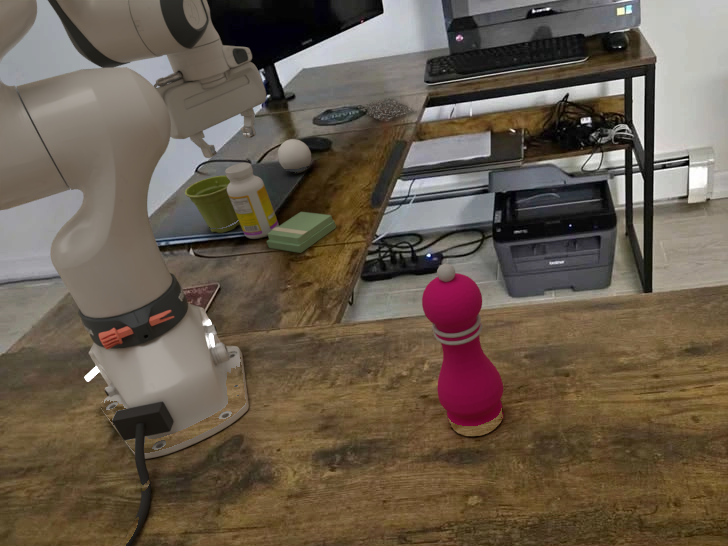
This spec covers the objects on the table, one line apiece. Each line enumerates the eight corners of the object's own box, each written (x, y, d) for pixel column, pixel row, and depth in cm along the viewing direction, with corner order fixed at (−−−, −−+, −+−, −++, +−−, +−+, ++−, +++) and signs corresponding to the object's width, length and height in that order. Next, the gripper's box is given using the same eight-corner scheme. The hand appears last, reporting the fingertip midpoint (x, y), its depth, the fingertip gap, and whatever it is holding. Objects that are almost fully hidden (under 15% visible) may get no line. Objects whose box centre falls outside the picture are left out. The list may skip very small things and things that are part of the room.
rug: (388, 99, 190) (388, 95, 190) (416, 112, 176) (415, 109, 175) (356, 108, 187) (355, 105, 187) (382, 123, 173) (381, 119, 172)
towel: (301, 253, 118) (296, 239, 117) (268, 248, 122) (263, 234, 121) (336, 227, 125) (332, 214, 123) (305, 223, 129) (300, 210, 127)
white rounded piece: (321, 169, 152) (312, 137, 147) (292, 181, 149) (281, 148, 144) (301, 161, 159) (291, 130, 154) (273, 172, 155) (262, 140, 151)
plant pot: (252, 228, 131) (236, 185, 125) (203, 242, 129) (185, 200, 123) (247, 211, 138) (232, 171, 133) (201, 225, 136) (184, 184, 131)
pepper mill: (437, 411, 78) (399, 260, 67) (494, 390, 80) (466, 239, 68) (457, 450, 73) (419, 292, 61) (518, 426, 74) (493, 269, 62)
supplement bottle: (273, 220, 132) (250, 157, 124) (284, 231, 127) (261, 165, 120) (240, 233, 130) (215, 169, 122) (250, 243, 125) (224, 178, 117)
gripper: (161, 82, 102) (197, 170, 110) (256, 46, 115) (283, 126, 123) (135, 82, 105) (173, 168, 113) (231, 47, 118) (259, 126, 126)
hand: (231, 146), depth 118 cm, fingers open, 8 cm apart
